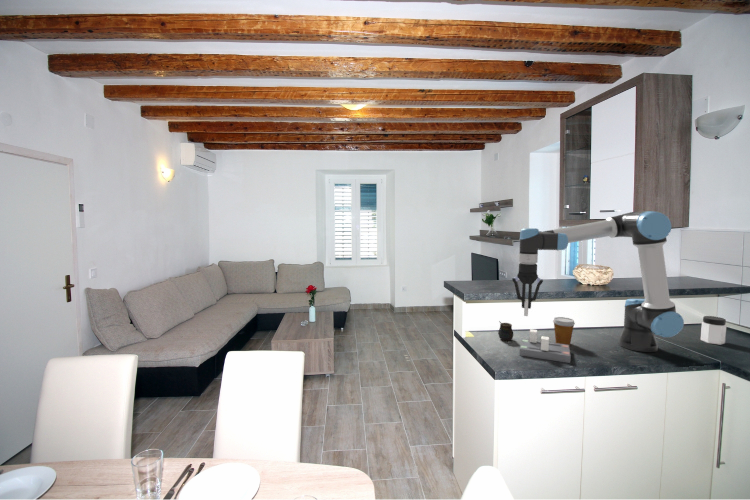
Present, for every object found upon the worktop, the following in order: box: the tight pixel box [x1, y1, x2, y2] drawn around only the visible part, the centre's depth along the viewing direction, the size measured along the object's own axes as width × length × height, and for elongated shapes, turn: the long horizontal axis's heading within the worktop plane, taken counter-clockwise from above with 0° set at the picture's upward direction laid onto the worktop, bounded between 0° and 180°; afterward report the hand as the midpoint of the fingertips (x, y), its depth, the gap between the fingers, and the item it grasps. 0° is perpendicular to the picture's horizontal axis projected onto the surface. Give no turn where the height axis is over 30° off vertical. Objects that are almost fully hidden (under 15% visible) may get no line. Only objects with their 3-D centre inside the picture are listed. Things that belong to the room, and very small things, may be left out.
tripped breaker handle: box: [540, 335, 550, 351], centre depth 160 cm, size 3×4×5 cm
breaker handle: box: [529, 328, 538, 343], centre depth 171 cm, size 3×4×5 cm
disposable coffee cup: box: [552, 316, 576, 346], centre depth 177 cm, size 10×10×12 cm
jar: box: [700, 315, 727, 346], centre depth 179 cm, size 9×8×12 cm
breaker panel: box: [519, 338, 571, 364], centre depth 165 cm, size 20×15×3 cm
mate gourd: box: [497, 320, 514, 342], centre depth 183 cm, size 7×8×10 cm
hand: (525, 315), depth 163 cm, fingers closed
